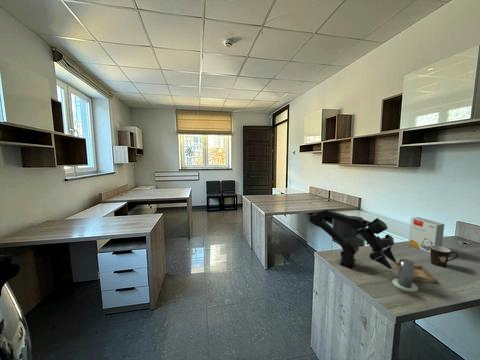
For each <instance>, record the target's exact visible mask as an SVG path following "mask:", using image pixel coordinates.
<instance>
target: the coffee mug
mask: <svg viewBox="0 0 480 360" xmlns="http://www.w3.org/2000/svg"><path fill="white" fill-rule="evenodd" d="M429 254H430V264H431V265H433V266H436V267H441V268H447V265H448V262H450V261H453V260H456V259H457V258H458V253H456V252H454V251H451V249H449V248H447V247H445V246H442V247H441V246H435V245H432V246H430V253H429ZM451 254H455V256H454V257H453V258H450V255H451ZM449 258H450V259H449Z"/></svg>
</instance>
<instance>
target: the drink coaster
mask: <svg viewBox="0 0 480 360" xmlns="http://www.w3.org/2000/svg"><path fill="white" fill-rule="evenodd" d="M391 282H392V284H393V285H394V286H395V287H396V288H397V289H399V290H402V291H404V292H417V291H418V290H419V287H418V285H416V284H415V283H414V282H412V287H411V288H406V287H403V286H401V285H399V284H398V277H397V278H393V279H392V281H391Z"/></svg>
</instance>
